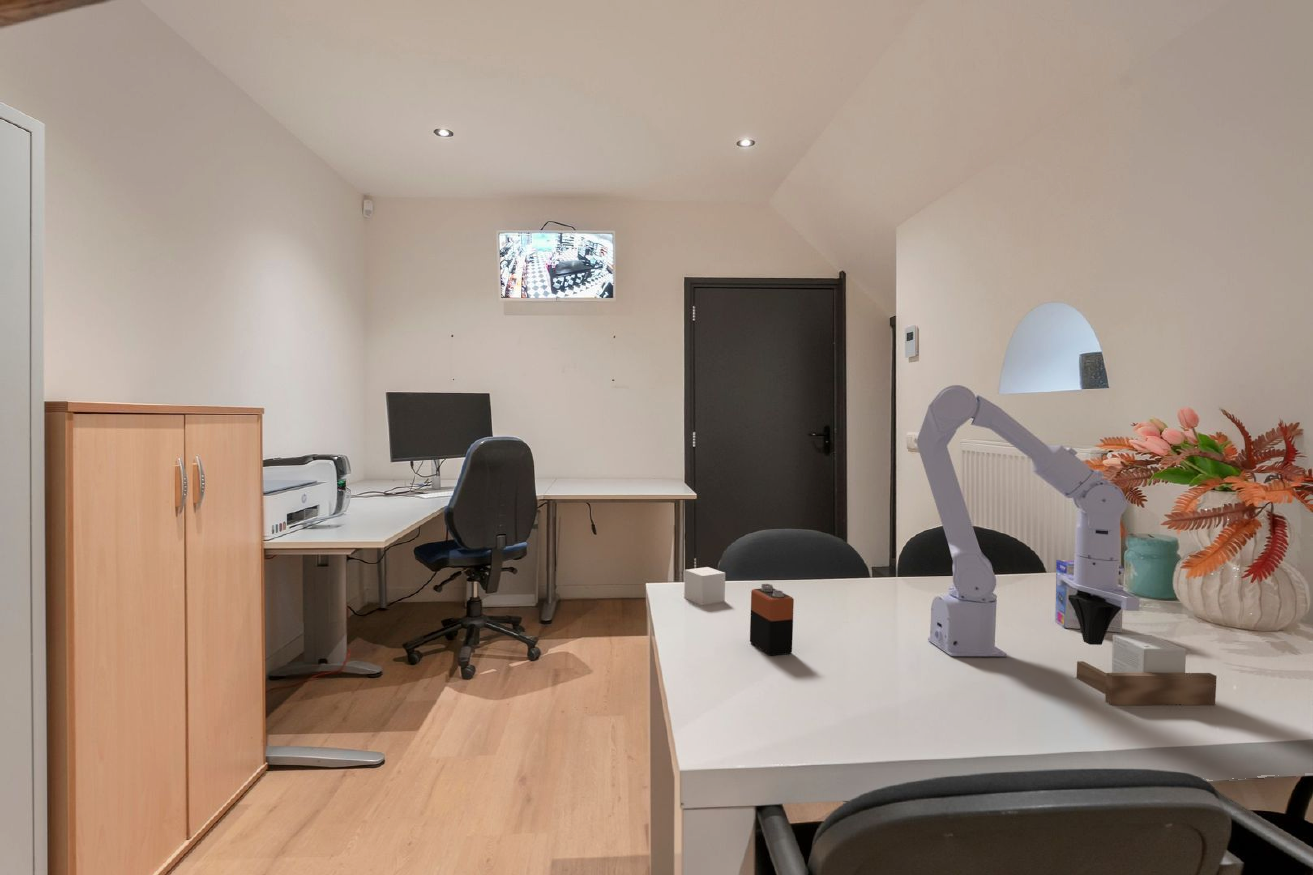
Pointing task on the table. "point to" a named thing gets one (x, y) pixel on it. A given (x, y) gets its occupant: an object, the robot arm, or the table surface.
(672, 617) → the table surface
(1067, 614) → the ink cartridge box
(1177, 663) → the product box
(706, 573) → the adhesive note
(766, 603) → the battery
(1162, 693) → the walnut holder
